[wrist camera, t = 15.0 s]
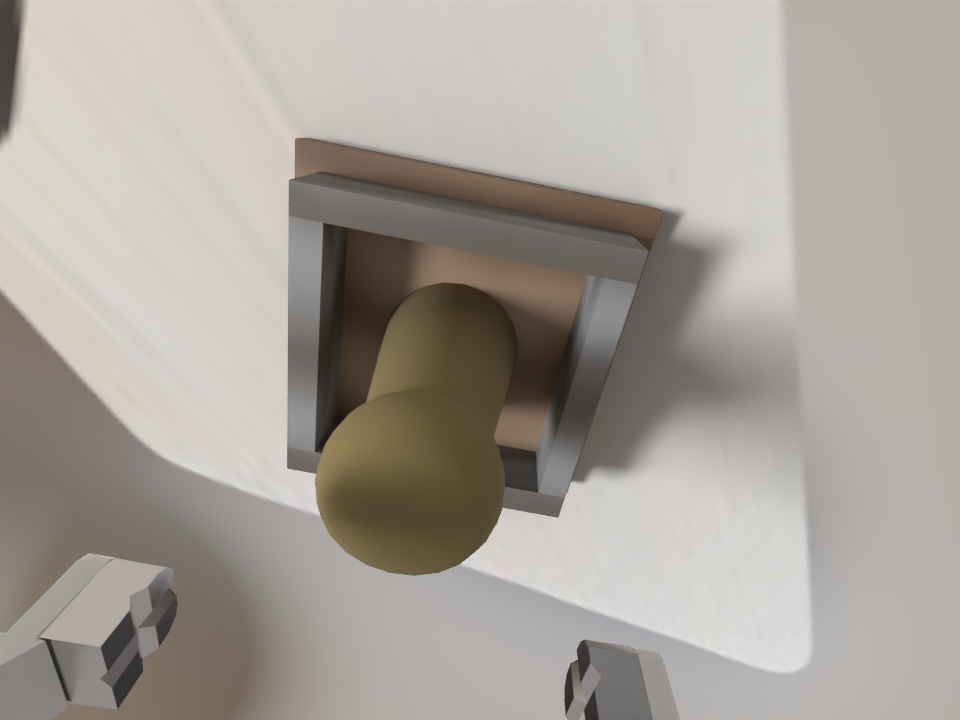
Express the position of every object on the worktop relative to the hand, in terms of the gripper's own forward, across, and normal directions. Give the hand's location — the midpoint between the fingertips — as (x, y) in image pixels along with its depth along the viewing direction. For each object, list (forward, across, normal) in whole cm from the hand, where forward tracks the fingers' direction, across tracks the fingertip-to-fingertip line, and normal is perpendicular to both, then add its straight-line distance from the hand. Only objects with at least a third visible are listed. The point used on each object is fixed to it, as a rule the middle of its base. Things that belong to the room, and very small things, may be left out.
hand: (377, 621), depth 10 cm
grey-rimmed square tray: (+15, 0, 0) cm, 15 cm away
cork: (+14, 0, 0) cm, 14 cm away
